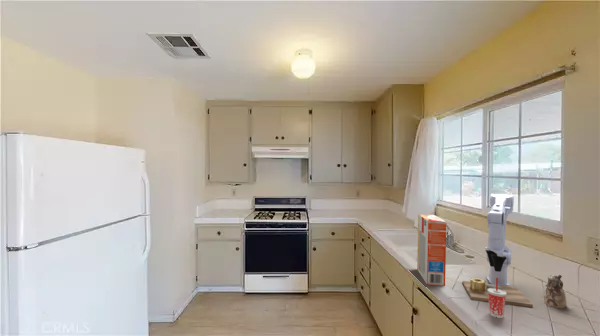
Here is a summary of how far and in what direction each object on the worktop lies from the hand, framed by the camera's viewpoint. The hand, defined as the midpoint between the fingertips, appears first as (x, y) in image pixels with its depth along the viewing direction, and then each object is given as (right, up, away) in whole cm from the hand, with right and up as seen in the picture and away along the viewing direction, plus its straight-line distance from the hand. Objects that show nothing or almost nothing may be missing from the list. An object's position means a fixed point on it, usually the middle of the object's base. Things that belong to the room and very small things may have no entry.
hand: (495, 268), depth 140 cm
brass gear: (-8, -9, 0) cm, 12 cm away
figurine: (+17, -11, -12) cm, 23 cm away
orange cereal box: (-21, -10, +19) cm, 30 cm away
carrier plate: (-2, -10, -2) cm, 11 cm away
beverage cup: (-14, -10, -23) cm, 28 cm away
